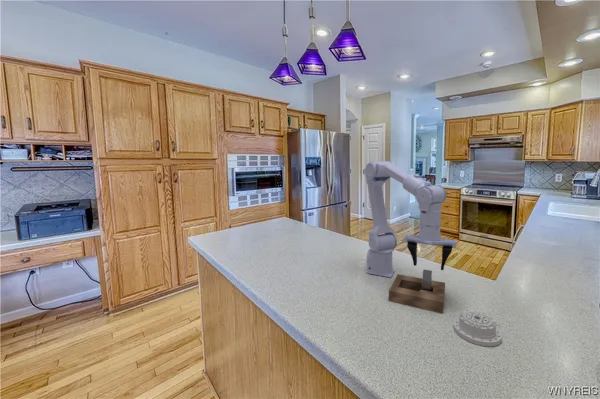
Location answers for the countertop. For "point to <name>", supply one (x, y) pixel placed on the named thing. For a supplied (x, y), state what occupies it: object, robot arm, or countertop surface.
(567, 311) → the countertop surface
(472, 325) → the mechanical component
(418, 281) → the keyhole plate
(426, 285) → the footed peg
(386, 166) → the robot arm
